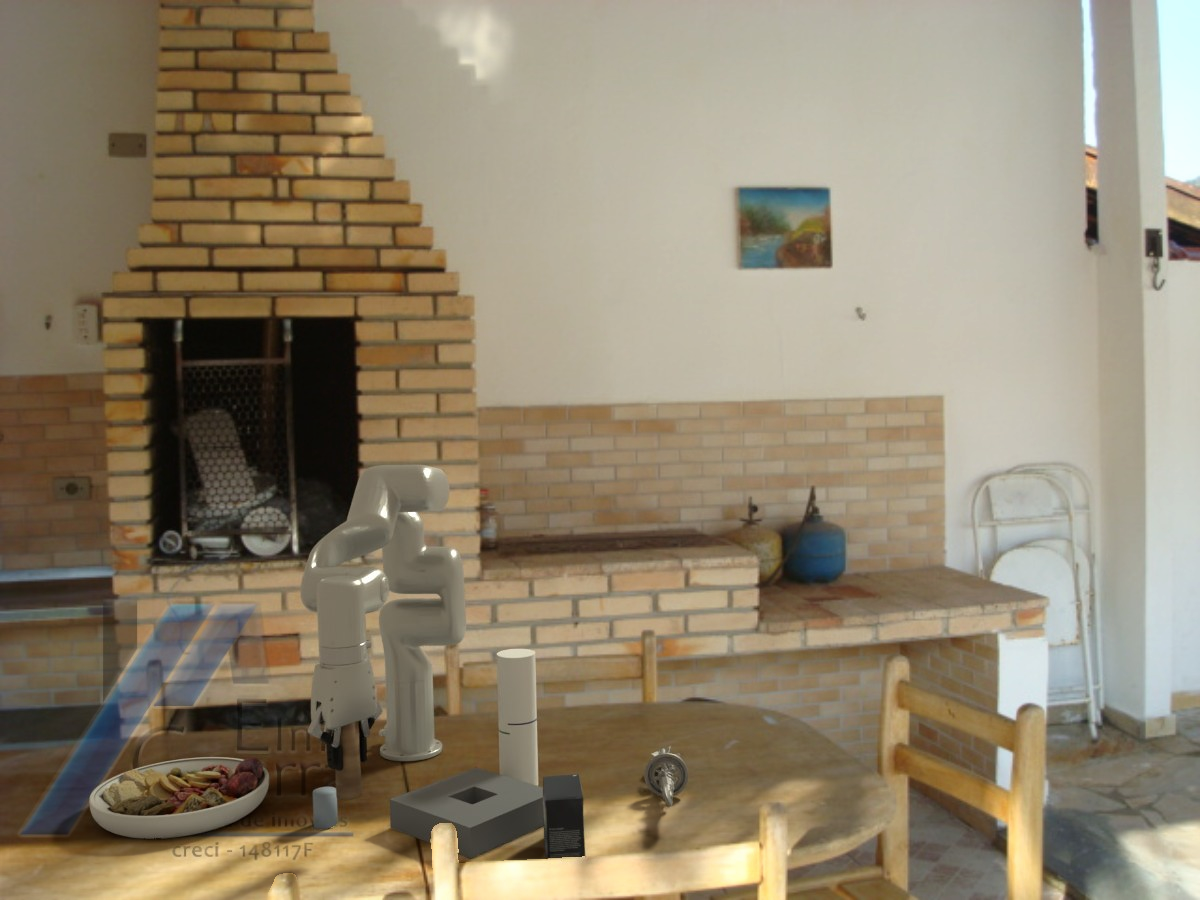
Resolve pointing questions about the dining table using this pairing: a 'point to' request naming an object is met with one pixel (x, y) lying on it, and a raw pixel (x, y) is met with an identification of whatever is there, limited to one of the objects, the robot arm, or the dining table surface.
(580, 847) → the small box
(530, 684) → the cylindrical container
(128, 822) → the bowl
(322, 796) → the short pin
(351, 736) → the long pin
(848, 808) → the dining table surface
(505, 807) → the collar block
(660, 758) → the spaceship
